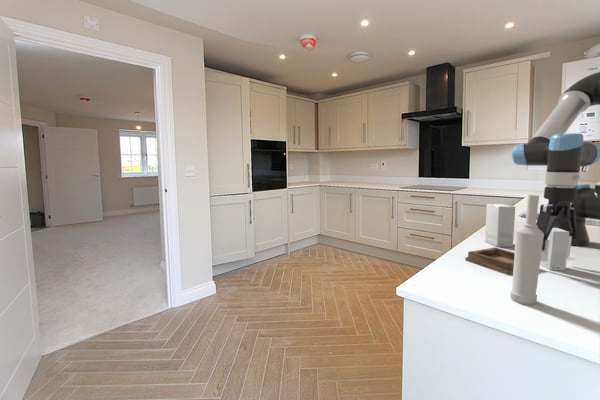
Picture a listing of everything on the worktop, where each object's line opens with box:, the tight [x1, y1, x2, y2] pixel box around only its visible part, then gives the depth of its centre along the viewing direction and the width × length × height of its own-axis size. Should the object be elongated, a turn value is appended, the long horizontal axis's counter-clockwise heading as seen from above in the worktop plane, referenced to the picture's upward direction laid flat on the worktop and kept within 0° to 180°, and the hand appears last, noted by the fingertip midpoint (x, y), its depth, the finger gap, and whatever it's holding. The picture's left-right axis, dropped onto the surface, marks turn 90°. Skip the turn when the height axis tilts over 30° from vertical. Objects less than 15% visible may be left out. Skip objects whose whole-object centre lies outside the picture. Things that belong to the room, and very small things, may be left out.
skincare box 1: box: [484, 203, 516, 248], centre depth 120 cm, size 8×7×16 cm
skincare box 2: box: [540, 228, 570, 272], centre depth 95 cm, size 6×4×12 cm
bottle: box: [509, 194, 544, 306], centre depth 72 cm, size 5×5×25 cm
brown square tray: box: [464, 247, 515, 276], centre depth 98 cm, size 14×14×3 cm
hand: (552, 257), depth 95 cm, fingers open, 11 cm apart
